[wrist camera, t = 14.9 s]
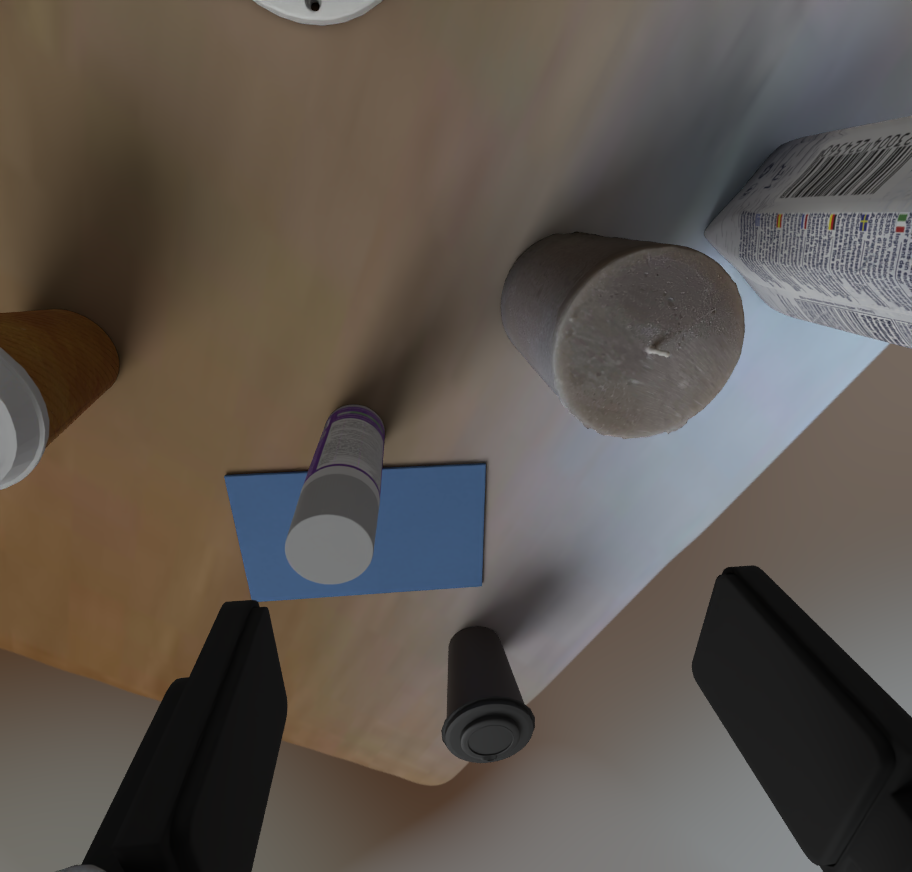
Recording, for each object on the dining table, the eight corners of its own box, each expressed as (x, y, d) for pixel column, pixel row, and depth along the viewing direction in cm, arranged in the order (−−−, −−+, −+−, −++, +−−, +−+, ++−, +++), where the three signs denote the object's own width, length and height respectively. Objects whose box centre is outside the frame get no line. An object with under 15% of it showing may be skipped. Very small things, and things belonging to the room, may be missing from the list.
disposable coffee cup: (-43, 333, 32) (-265, 392, 22) (64, 254, 31) (-115, 276, 20) (75, 440, 36) (-64, 537, 25) (174, 374, 35) (72, 446, 24)
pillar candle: (589, 201, 33) (720, 192, 20) (649, 318, 37) (793, 378, 23) (473, 288, 35) (519, 335, 21) (541, 391, 39) (618, 487, 25)
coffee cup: (460, 685, 52) (472, 785, 42) (419, 640, 48) (423, 738, 39) (527, 651, 50) (554, 747, 41) (490, 603, 47) (511, 695, 38)
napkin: (225, 474, 39) (224, 476, 38) (485, 463, 41) (485, 464, 40) (253, 599, 44) (252, 602, 44) (481, 584, 46) (481, 586, 46)
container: (354, 468, 40) (329, 600, 26) (311, 429, 38) (261, 549, 24) (397, 434, 39) (394, 552, 25) (356, 392, 37) (329, 495, 23)
